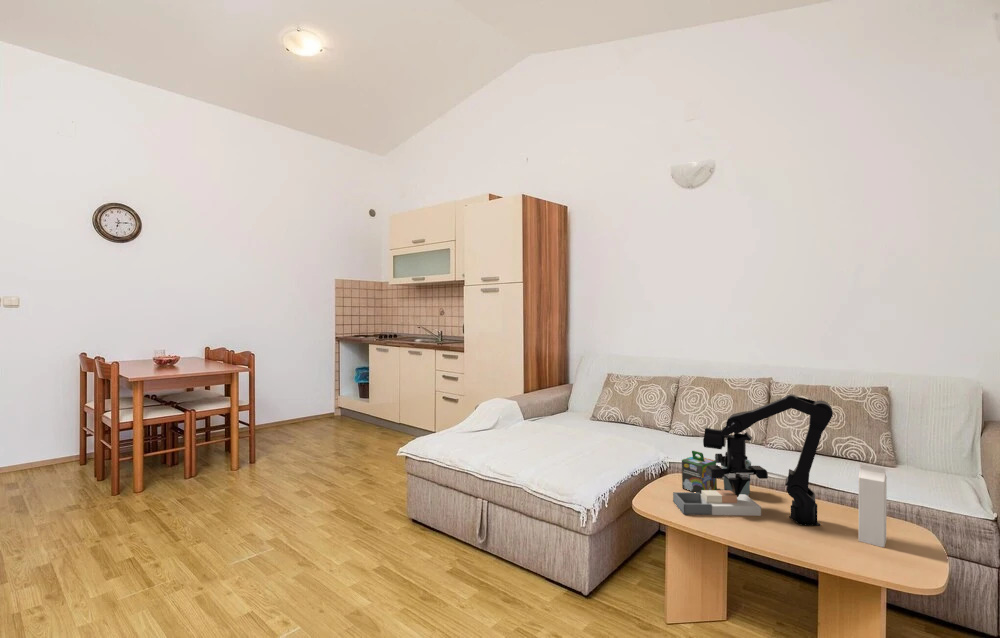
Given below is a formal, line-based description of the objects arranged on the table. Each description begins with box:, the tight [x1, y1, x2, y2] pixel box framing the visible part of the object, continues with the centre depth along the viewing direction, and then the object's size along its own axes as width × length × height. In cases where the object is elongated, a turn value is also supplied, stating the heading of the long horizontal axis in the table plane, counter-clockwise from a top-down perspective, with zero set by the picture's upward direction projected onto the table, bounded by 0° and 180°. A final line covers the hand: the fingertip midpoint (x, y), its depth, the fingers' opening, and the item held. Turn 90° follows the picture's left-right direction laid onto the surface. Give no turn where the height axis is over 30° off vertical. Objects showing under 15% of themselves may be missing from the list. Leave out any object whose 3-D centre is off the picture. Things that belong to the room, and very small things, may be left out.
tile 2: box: [716, 489, 737, 503], centre depth 167 cm, size 5×5×2 cm
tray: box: [672, 491, 713, 516], centre depth 167 cm, size 9×11×4 cm
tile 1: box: [701, 490, 722, 503], centre depth 167 cm, size 5×5×2 cm
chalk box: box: [681, 450, 718, 494], centre depth 185 cm, size 9×9×15 cm
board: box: [700, 494, 762, 517], centre depth 167 cm, size 16×11×3 cm
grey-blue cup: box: [721, 459, 752, 497], centre depth 182 cm, size 10×10×12 cm
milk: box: [858, 464, 888, 548], centre depth 143 cm, size 6×6×22 cm
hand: (736, 496), depth 167 cm, fingers closed
